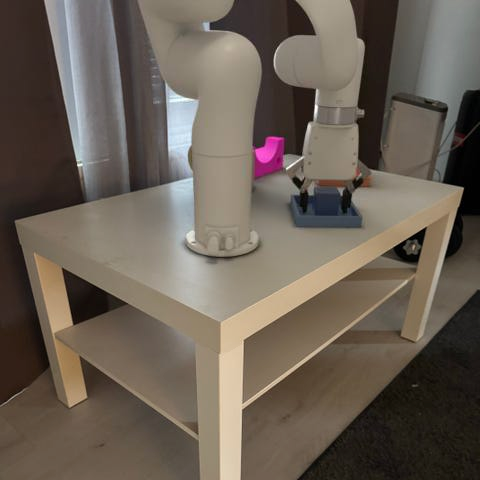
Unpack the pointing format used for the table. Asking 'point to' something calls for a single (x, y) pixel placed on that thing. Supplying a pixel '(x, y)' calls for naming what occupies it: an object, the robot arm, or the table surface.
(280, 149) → the toy block
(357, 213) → the blue tray
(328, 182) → the red tray
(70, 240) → the table surface
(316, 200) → the blue block
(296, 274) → the table surface
